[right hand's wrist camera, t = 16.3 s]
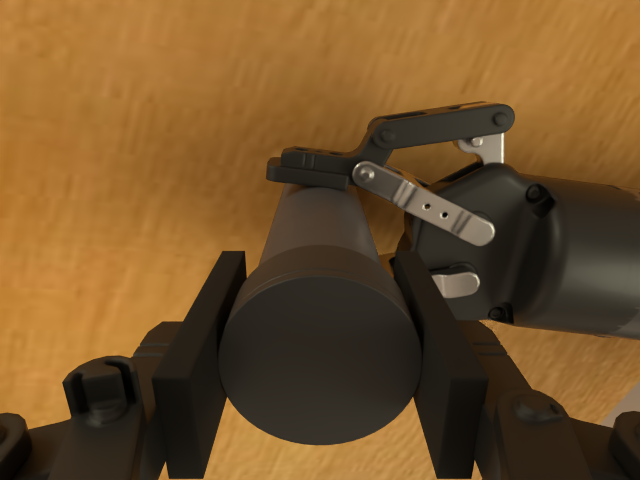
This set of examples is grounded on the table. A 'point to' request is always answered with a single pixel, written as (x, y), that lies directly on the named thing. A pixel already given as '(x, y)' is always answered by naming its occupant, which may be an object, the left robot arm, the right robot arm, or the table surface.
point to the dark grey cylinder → (319, 221)
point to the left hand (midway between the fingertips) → (265, 220)
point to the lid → (320, 347)
